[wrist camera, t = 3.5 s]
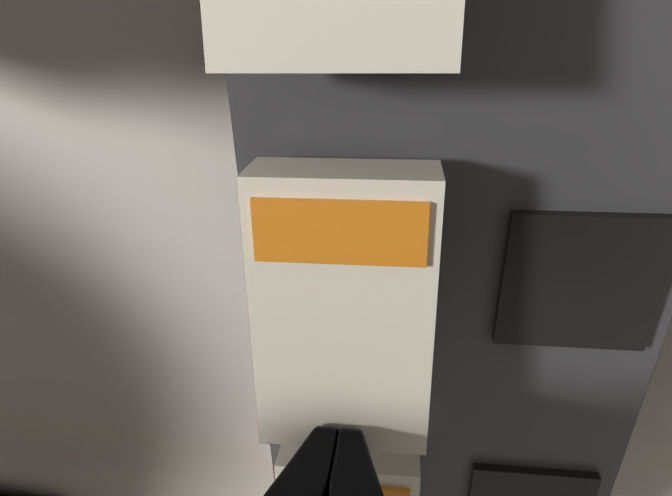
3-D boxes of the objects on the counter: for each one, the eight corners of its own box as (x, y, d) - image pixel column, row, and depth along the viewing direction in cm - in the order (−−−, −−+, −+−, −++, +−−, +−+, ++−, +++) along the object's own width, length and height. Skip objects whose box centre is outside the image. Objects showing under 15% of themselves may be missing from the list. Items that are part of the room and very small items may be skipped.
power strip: (521, 557, 21) (546, 690, 17) (313, 538, 21) (294, 660, 18) (757, -406, 8) (1031, -675, 5) (247, -361, 9) (144, -558, 6)
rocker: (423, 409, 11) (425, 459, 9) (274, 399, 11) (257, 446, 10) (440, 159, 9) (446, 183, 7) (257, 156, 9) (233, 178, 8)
